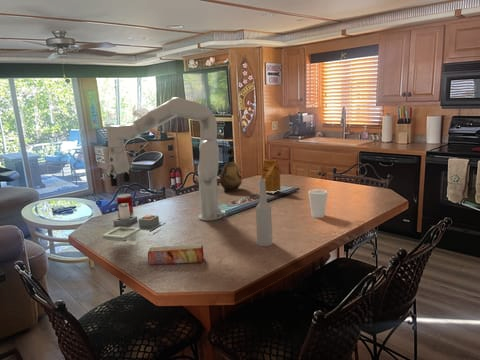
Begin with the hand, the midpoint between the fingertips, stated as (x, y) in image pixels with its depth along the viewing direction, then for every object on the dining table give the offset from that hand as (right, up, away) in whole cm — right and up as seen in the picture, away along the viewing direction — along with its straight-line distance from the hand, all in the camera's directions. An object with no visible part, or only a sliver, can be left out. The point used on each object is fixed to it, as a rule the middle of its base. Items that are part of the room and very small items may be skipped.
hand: (120, 183), depth 182 cm
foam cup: (+101, -17, +4) cm, 102 cm away
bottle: (+71, -25, -28) cm, 80 cm away
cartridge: (+1, -20, +4) cm, 21 cm away
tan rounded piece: (+15, -20, -1) cm, 25 cm away
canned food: (-6, -18, +26) cm, 32 cm away
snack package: (+36, -30, -41) cm, 63 cm away
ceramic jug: (+55, -5, +70) cm, 89 cm away
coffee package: (+81, -6, +58) cm, 100 cm away
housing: (+8, -22, +2) cm, 23 cm away
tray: (+4, -25, -10) cm, 27 cm away
